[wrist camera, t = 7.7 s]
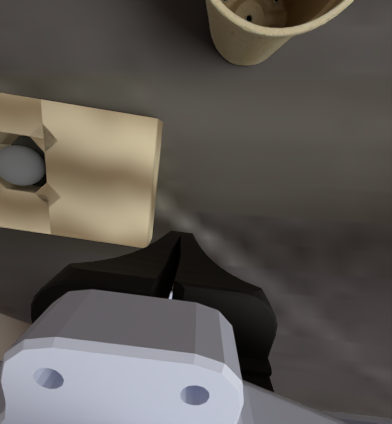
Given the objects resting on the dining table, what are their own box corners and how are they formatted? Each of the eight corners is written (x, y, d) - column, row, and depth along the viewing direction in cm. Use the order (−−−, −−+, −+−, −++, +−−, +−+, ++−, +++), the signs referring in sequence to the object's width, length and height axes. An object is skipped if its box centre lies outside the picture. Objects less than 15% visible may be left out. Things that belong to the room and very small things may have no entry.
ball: (54, 179, 21) (42, 191, 18) (11, 178, 20) (-9, 191, 17) (47, 144, 20) (33, 150, 17) (1, 140, 18) (-23, 147, 15)
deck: (152, 238, 22) (146, 248, 20) (-3, 215, 22) (-27, 223, 19) (162, 122, 19) (157, 118, 16) (-23, 91, 18) (-55, 83, 16)
